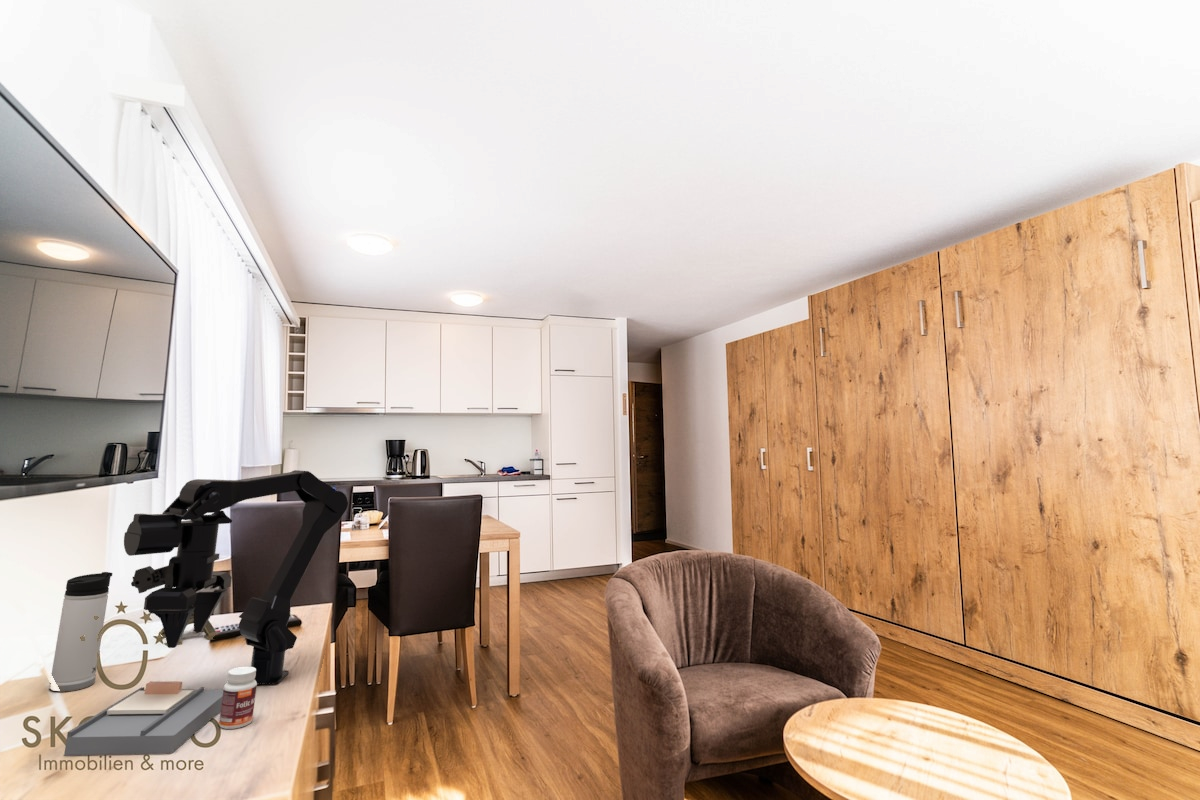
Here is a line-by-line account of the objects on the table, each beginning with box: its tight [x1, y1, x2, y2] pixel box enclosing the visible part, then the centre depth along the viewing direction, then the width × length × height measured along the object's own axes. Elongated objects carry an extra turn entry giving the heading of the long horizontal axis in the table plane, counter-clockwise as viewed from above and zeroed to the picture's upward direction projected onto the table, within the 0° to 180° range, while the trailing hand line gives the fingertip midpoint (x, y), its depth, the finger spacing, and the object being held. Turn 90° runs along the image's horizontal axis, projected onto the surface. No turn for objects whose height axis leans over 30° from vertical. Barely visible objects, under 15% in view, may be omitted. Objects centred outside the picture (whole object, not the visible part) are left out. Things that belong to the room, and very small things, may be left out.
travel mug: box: [51, 571, 113, 693], centre depth 107 cm, size 6×7×20 cm
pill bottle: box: [218, 666, 258, 730], centre depth 95 cm, size 5×5×8 cm
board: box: [63, 686, 224, 757], centre depth 92 cm, size 18×14×3 cm
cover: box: [107, 680, 193, 714], centre depth 94 cm, size 8×8×2 cm
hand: (185, 639), depth 102 cm, fingers open, 9 cm apart
